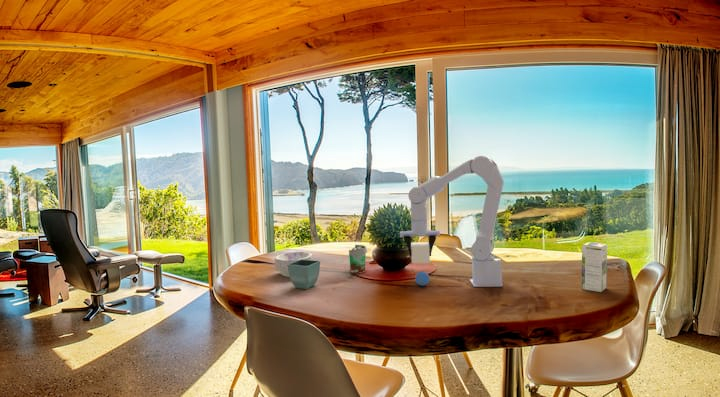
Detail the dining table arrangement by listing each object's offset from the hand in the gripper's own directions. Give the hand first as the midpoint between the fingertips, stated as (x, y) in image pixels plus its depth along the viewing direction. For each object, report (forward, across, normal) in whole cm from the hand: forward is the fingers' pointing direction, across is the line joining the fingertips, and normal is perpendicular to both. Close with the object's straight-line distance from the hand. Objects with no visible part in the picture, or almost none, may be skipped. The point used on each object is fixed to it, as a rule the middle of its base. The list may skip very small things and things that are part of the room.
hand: (420, 255), depth 141 cm
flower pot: (+9, -42, -9) cm, 44 cm away
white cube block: (+2, 0, 0) cm, 2 cm away
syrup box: (+9, +54, -15) cm, 57 cm away
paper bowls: (+9, -51, +9) cm, 53 cm away
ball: (+6, 0, -9) cm, 11 cm away
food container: (+9, -24, +12) cm, 28 cm away
